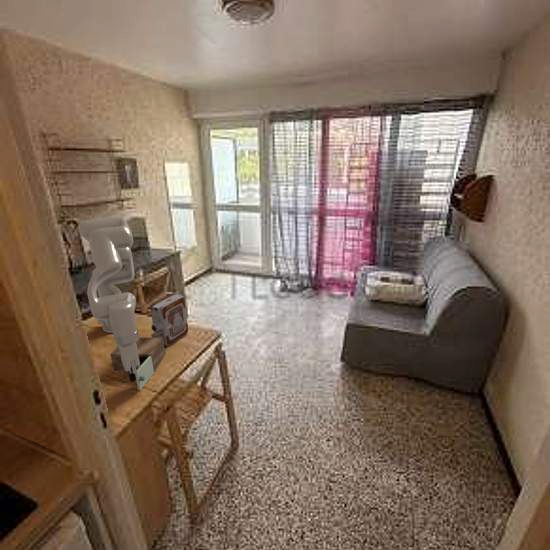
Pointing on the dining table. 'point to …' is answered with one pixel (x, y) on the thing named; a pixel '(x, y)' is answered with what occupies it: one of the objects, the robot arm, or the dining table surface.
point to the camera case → (142, 353)
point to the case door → (144, 373)
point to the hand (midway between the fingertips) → (134, 379)
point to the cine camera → (169, 319)
